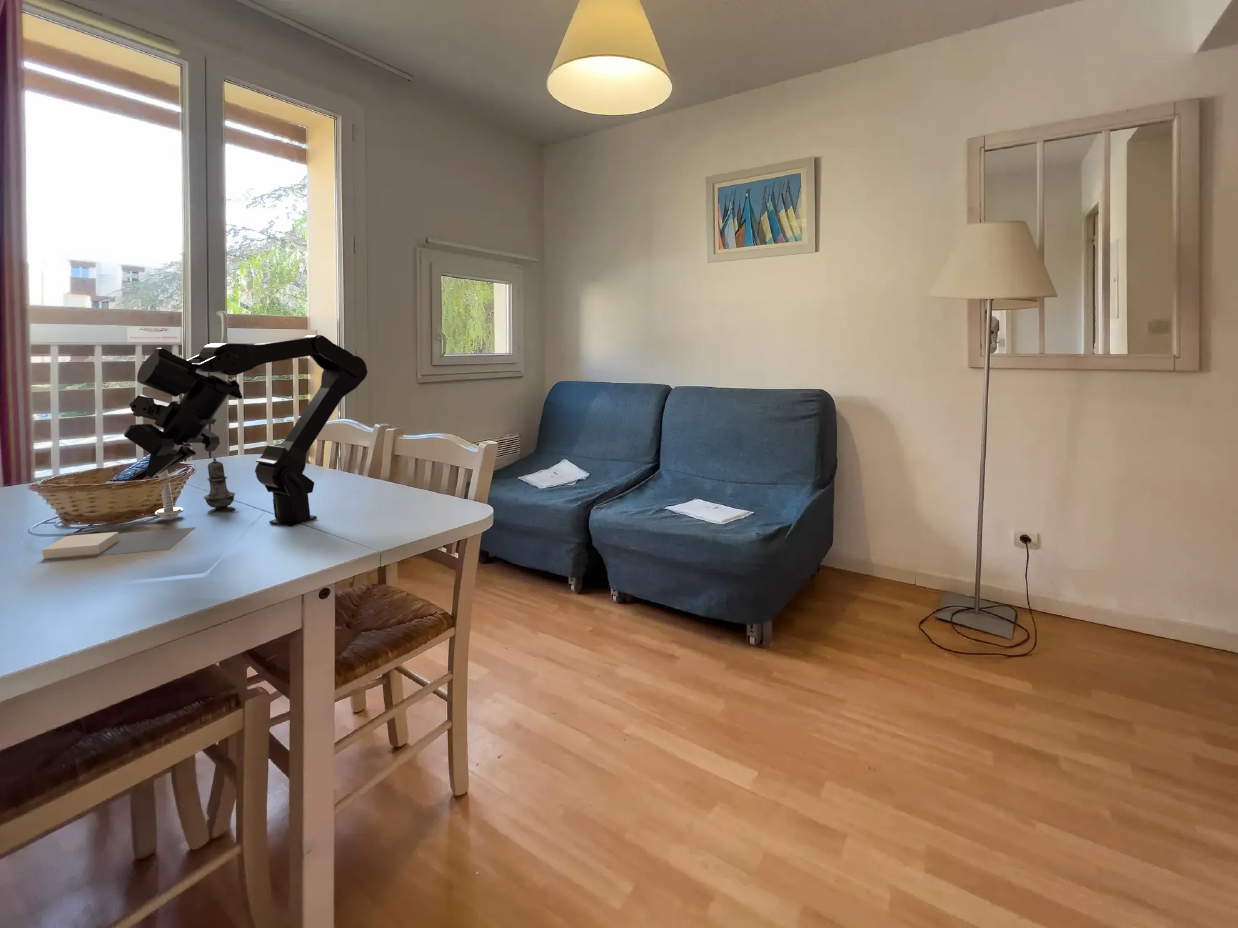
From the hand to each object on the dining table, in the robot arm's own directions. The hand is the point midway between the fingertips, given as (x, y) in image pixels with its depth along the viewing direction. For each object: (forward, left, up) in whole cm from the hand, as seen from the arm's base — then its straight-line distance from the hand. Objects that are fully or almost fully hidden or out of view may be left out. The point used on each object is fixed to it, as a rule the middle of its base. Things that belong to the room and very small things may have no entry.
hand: (149, 476), depth 116 cm
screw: (+14, -11, -13) cm, 22 cm away
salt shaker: (+11, -20, -13) cm, 26 cm away
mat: (+5, +3, -13) cm, 14 cm away
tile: (+5, +6, -11) cm, 14 cm away
